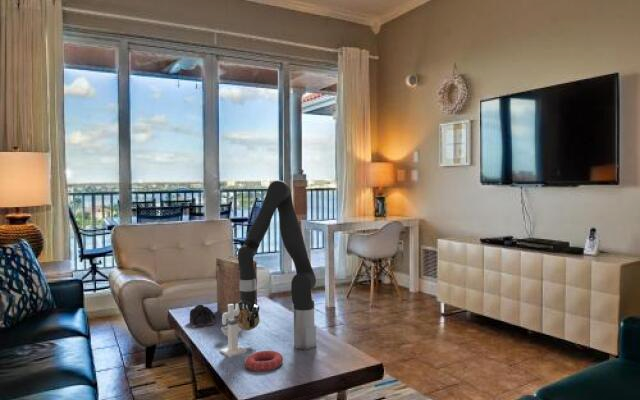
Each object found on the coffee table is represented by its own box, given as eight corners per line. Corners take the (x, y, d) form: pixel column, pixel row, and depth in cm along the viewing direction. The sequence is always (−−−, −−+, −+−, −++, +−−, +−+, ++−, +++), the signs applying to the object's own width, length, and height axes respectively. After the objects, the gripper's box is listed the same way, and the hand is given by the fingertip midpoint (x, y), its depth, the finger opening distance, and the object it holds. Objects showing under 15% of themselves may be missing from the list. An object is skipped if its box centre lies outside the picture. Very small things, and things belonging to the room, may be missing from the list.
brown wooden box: (217, 310, 264) (215, 258, 262) (230, 307, 271) (229, 256, 269) (243, 320, 246) (242, 264, 244) (257, 316, 253) (256, 261, 251)
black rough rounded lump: (211, 329, 235) (213, 309, 235) (184, 327, 235) (186, 307, 235) (217, 322, 248) (218, 303, 249) (191, 320, 248) (193, 302, 249)
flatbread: (241, 333, 207) (240, 311, 207) (237, 331, 210) (236, 309, 210) (261, 328, 214) (260, 306, 213) (256, 326, 217) (256, 304, 216)
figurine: (218, 335, 223) (218, 304, 222) (234, 330, 230) (234, 300, 229) (227, 339, 218) (227, 307, 217) (244, 334, 225) (243, 303, 224)
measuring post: (246, 352, 202) (245, 320, 201) (230, 357, 197) (229, 324, 196) (236, 347, 208) (235, 316, 207) (220, 351, 202) (219, 320, 202)
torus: (268, 354, 200) (268, 346, 199) (290, 364, 190) (290, 355, 190) (237, 366, 188) (237, 357, 188) (259, 376, 178) (259, 367, 178)
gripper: (264, 289, 208) (265, 327, 209) (246, 284, 219) (247, 321, 220) (250, 292, 203) (251, 331, 204) (232, 287, 214) (233, 324, 215)
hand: (249, 325), depth 212 cm, fingers closed on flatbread, 3 cm apart
